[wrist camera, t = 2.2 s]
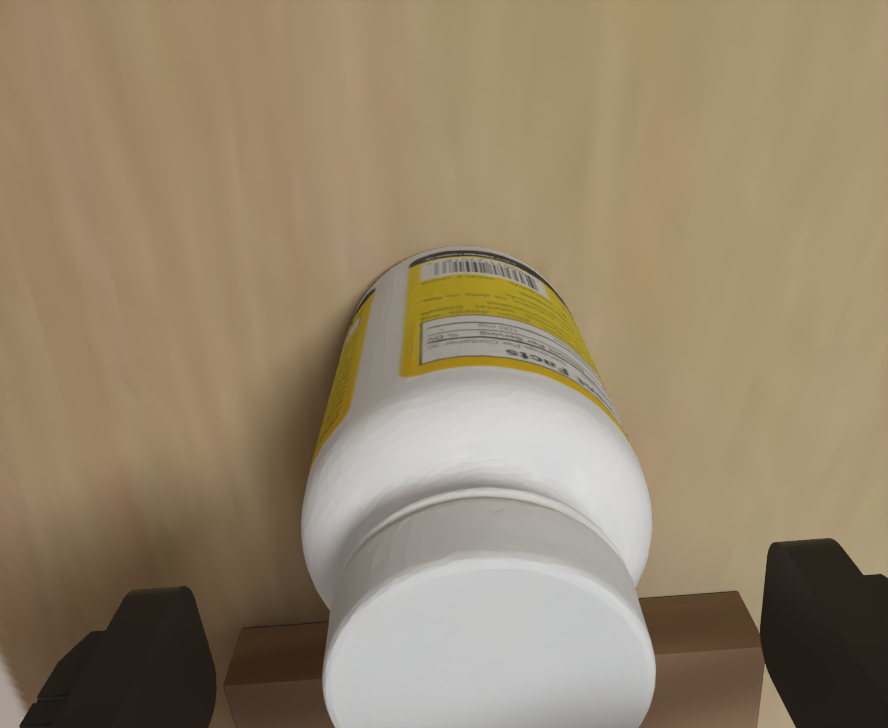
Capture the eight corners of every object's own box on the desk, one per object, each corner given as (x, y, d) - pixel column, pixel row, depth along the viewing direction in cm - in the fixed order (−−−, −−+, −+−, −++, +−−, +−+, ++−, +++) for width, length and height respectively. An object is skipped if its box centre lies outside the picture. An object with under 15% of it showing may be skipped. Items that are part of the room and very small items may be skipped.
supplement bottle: (427, 483, 19) (415, 886, 10) (301, 317, 17) (152, 638, 8) (616, 383, 18) (787, 743, 9) (504, 193, 16) (582, 414, 7)
